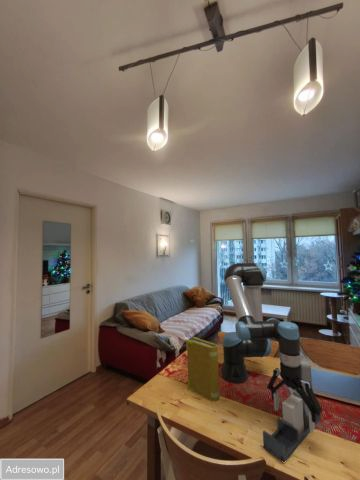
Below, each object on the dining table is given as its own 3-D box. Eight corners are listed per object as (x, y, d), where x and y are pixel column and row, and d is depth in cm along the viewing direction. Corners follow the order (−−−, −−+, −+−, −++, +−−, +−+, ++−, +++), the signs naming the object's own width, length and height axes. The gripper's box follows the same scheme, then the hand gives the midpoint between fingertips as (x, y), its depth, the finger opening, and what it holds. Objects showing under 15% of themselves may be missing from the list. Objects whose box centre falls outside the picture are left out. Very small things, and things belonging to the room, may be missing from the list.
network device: (319, 411, 95) (316, 364, 96) (297, 409, 97) (295, 363, 98) (299, 378, 120) (297, 341, 121) (282, 376, 122) (280, 340, 123)
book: (187, 389, 113) (186, 340, 115) (195, 383, 118) (194, 336, 120) (214, 403, 102) (212, 349, 103) (222, 396, 106) (220, 344, 108)
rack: (263, 447, 78) (261, 414, 79) (301, 408, 97) (300, 382, 97) (284, 463, 72) (282, 427, 73) (320, 418, 91) (318, 390, 91)
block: (283, 432, 84) (282, 402, 84) (293, 422, 88) (291, 394, 89) (294, 439, 80) (292, 408, 81) (303, 428, 85) (302, 399, 86)
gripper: (257, 354, 94) (259, 405, 92) (321, 380, 74) (325, 445, 73) (266, 349, 98) (269, 398, 97) (329, 372, 78) (333, 433, 77)
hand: (293, 418), depth 85 cm, fingers open, 13 cm apart
